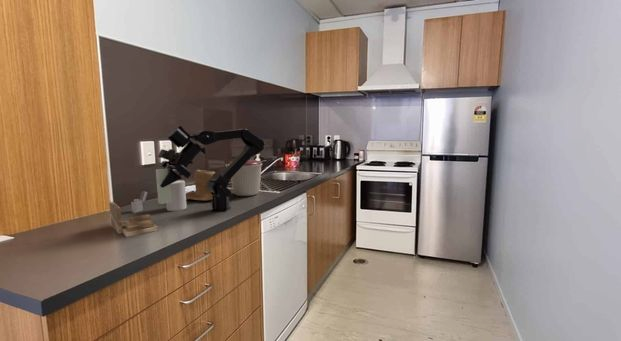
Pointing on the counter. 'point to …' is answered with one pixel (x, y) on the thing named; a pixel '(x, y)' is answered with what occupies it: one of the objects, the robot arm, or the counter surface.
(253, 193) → the canister
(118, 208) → the rack
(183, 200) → the cup
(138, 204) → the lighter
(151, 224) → the offcut stack
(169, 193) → the pale green upright block
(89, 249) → the counter surface
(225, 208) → the robot arm
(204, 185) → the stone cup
